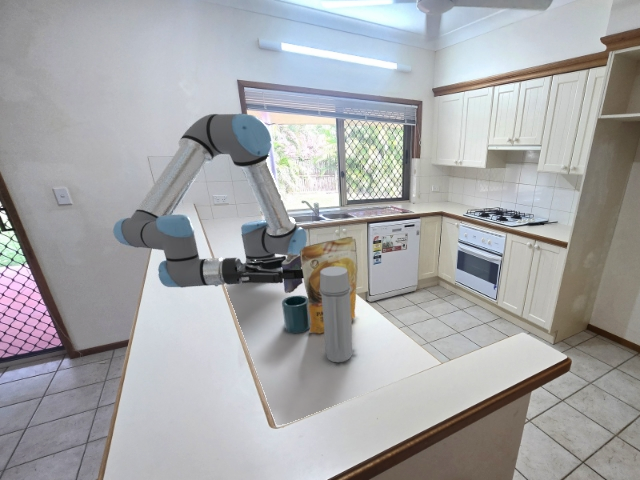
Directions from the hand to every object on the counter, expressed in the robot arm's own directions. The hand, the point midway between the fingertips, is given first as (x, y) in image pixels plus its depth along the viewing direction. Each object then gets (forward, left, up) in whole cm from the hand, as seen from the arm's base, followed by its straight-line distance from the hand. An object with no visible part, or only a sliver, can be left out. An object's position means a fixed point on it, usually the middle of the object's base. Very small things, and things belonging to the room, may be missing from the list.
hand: (307, 267), depth 97 cm
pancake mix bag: (+1, +6, -19) cm, 20 cm away
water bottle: (+19, +7, -20) cm, 28 cm away
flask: (0, -5, -6) cm, 8 cm away
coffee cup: (0, -5, -20) cm, 20 cm away
